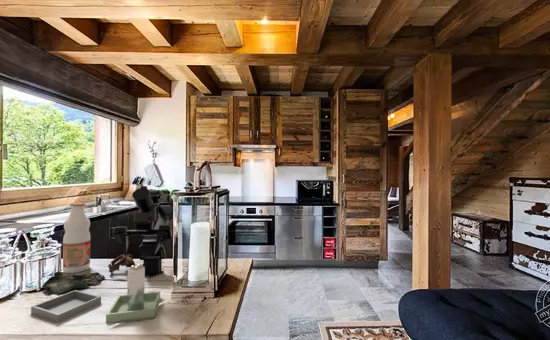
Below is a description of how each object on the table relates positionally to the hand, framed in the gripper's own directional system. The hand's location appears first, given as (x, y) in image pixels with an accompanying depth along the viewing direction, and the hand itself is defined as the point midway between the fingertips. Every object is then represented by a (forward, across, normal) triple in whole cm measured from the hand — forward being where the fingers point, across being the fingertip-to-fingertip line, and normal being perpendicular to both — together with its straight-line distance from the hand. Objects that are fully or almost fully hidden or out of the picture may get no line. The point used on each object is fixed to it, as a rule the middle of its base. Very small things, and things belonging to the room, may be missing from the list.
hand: (139, 254), depth 94 cm
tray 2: (+18, +1, +2) cm, 18 cm away
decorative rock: (0, -23, +20) cm, 31 cm away
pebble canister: (+17, +1, +1) cm, 17 cm away
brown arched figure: (-8, -11, +27) cm, 30 cm away
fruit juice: (-13, -31, +33) cm, 47 cm away
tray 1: (+14, -18, +5) cm, 24 cm away
